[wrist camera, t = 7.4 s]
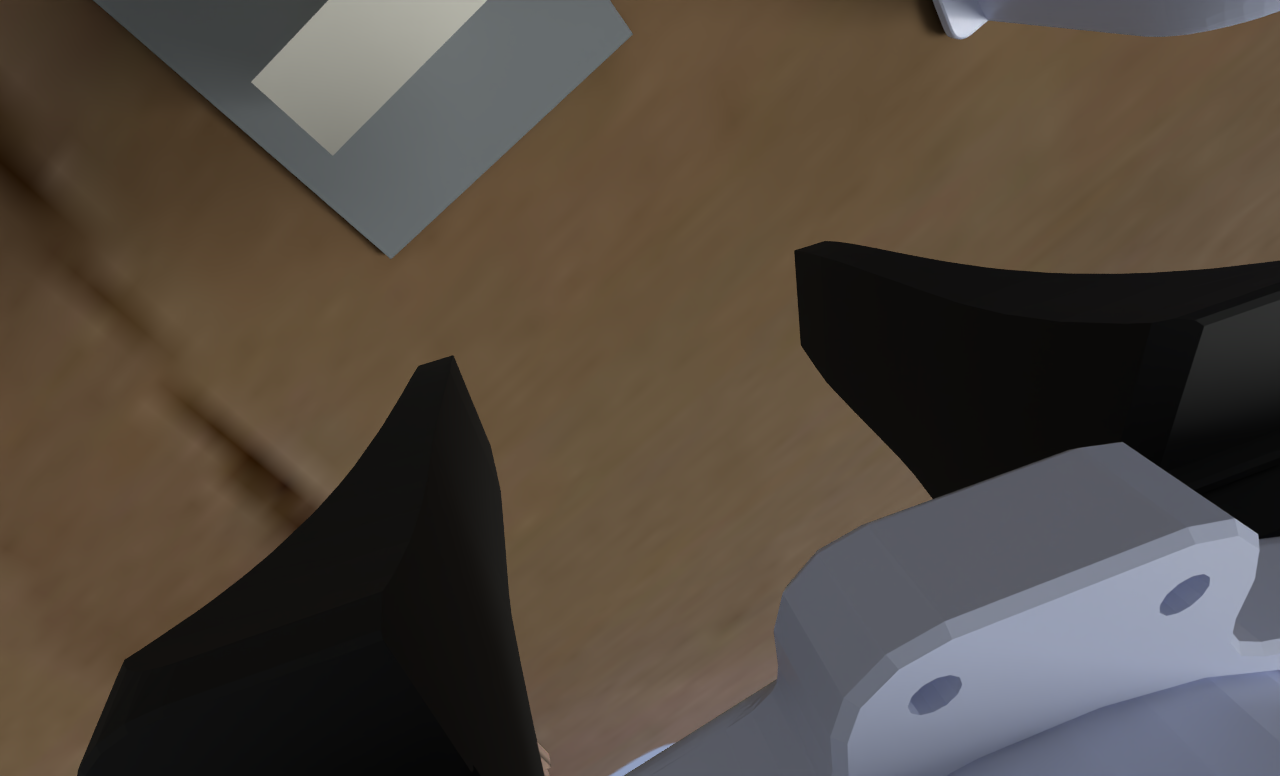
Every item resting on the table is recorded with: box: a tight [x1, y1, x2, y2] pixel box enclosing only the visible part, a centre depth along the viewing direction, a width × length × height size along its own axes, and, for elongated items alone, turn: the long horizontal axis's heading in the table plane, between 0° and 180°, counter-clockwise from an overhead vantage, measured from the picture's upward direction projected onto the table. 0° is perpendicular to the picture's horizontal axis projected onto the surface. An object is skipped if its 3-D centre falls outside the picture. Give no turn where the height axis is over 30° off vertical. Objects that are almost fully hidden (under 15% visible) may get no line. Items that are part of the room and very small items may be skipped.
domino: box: [251, 0, 487, 156], centre depth 14 cm, size 2×4×6 cm, turn 129°
